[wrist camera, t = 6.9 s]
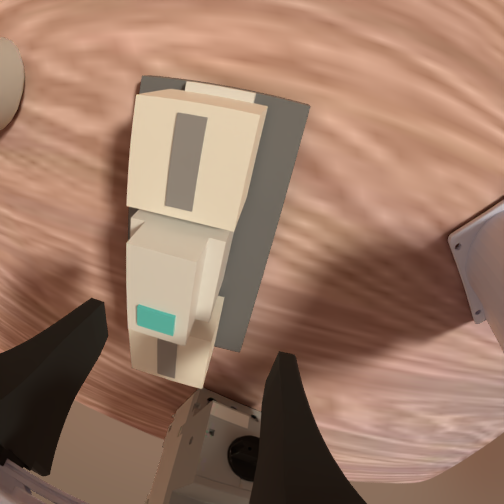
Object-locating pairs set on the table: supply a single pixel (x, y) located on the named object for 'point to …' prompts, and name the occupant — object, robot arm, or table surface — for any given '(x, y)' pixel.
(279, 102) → the rail plate
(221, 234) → the block
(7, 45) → the can
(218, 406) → the circuit breaker
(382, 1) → the table surface
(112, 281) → the table surface
